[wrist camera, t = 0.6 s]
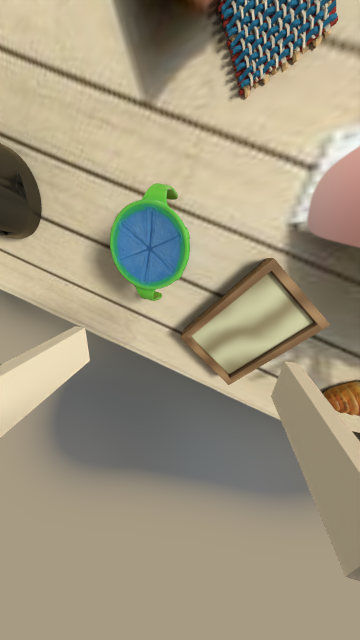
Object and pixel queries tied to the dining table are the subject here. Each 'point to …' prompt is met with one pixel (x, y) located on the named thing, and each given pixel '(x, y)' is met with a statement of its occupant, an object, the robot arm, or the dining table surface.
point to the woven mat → (272, 34)
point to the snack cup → (150, 242)
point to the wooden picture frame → (253, 323)
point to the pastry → (345, 398)
